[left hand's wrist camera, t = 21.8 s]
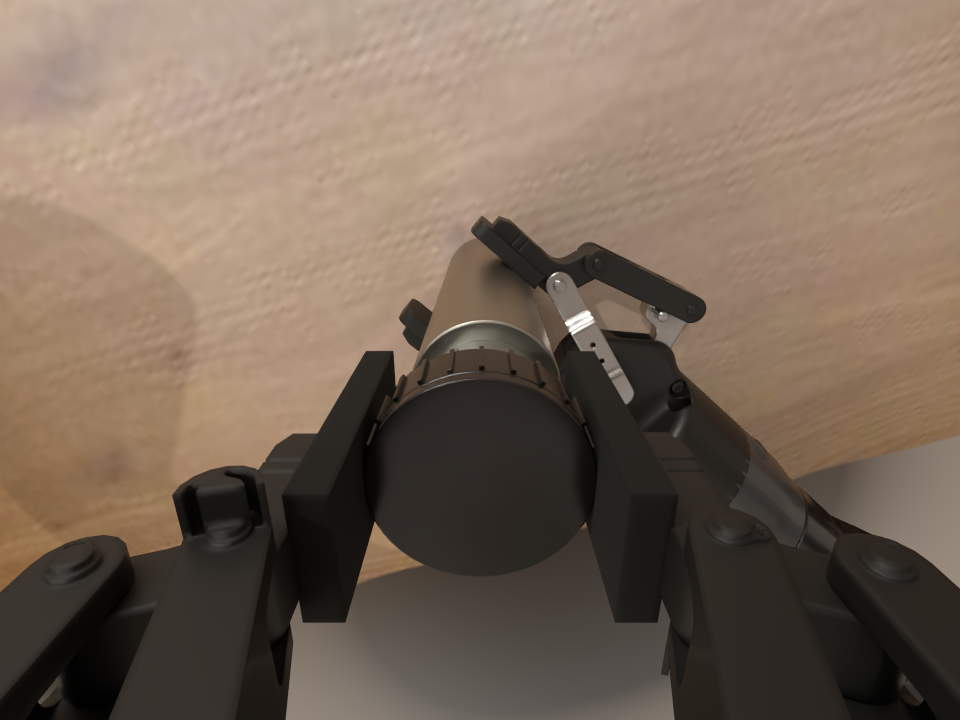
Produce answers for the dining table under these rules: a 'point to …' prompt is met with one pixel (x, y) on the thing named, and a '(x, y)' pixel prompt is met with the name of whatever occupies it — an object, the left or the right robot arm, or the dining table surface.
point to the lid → (480, 464)
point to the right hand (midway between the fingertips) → (441, 267)
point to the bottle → (485, 310)
